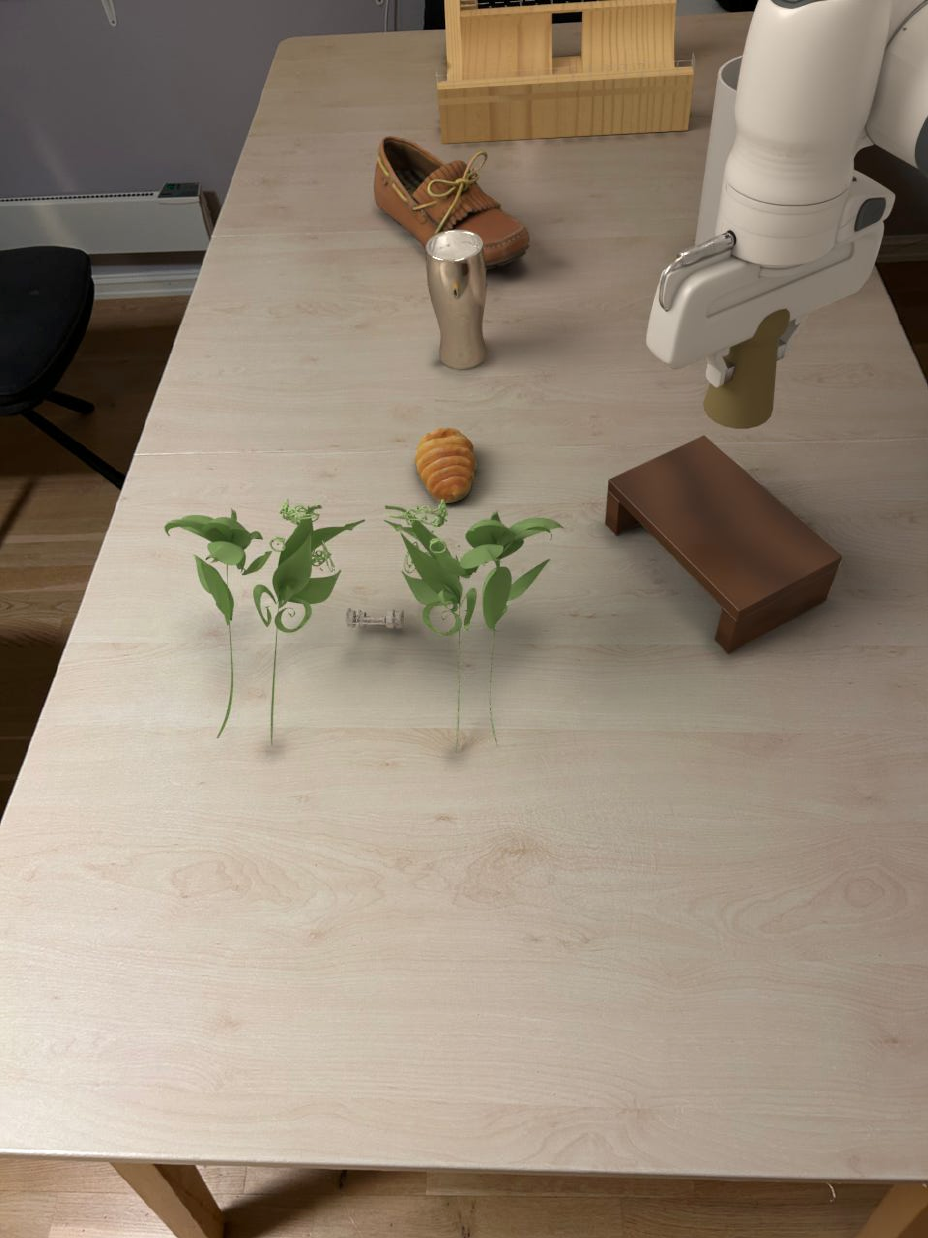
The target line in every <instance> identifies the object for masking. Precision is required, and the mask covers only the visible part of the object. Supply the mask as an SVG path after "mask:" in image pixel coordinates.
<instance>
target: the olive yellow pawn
mask: <svg viewBox="0 0 928 1238" xmlns="http://www.w3.org/2000/svg"><path fill="white" fill-rule="evenodd" d="M789 320H790V312H789V311H788V310H787V309H781V310H778V311H775V312H773V313H771V314H770V315H768V316H767V317H765V318H764V319H763V321H762V322H761V323H760V324H759V326H758V328H757V330H756V332H755V334H754V336H753V337H752V338H751V339H748V340H746V341H744V342H741V343H739V344H737V345H734V346H732V347H730V350H729V354H728V355H726V356H723V357H724V358H726V359H727V361H728V362H731V363H732V364H733V365H734V366H735V370H734V373H733V375H732V376H733V380H732V381H730V382H728V383H726V384H724V385H722V386H720V387H715V386H713V385H712V384H711V383H710V382H709V385H708V388H707V390H706V394H705V397H704V399H703V403H702V404H703V411H704V413H705V414H706V416H707V418H709V419H711V421H713V422H714V423H716V424H717V425H721V426H722V427H725V428H729V429H735V430H744V429H745V430H747V429H752V428H757V427H759V426H761V425H763V424H765V423H767V422H768V420H769V419H770V418H771V417H772V415H773V411H774V403H775V389H776V377H777V363H778V361H777V351H778V339H779V338H780V337H781V336H782V335H783V334H784V332H785V331H786V329H787V327H788V324H789Z"/></svg>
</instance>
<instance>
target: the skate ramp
mask: <svg viewBox="0 0 928 1238" xmlns="http://www.w3.org/2000/svg"><path fill="white" fill-rule="evenodd" d="M530 1H534V0H526V2H530ZM516 2H518V0H517V1H516V0H515V1H513V0H512V1H511V3H516ZM500 3H503V2H502V1H499V2H497V1H496V4H500ZM677 3H678V0H596V1H580V2H565V3H553V0H550V4H534V5H522V0H519V5H520V6H518V5H517V6H504V7H503V6H502V7H487V8H479V2H478V0H444V20H445V22H444V23H445V24H444V25H445V43H446V44H445V46H446V47H445V48H446V80H443V81H441V80H440V81H438V79H439V76H440V77H441V76H443V74H438V69H436V72H435V77H436V78H435V83H436V95H437V105H438V106H437V107H438V115H439V127H440V138H441V139H440V140H441V144H442V145H444V144H446V145H447V144H465V143H480V142H481V143H483V142H499V141H517V140H519V141H520V140H537V139H554V138H572V137H573V138H574V137H591V136H608V135H609V136H610V135H626V134H627V135H628V134H629V135H630V134H646V133H663V132H664V133H665V132H681V131H688V130H689V123H690V116H691V115H690V114H691V107H692V99H693V91H694V84H695V75H696V74H695V69H694V67H696V66H695V65H696V59H695V55H694V53H692V57H691V59H684V60H682V62H689V61H690V62H691V63H692V64H691V66H676V65H679V64H680V63H679V62H680V60H676V62H677V63H676V62H675V29H676V28H675V27H676V25H675V24H676V16H677V15H676V13H677V12H676V11H677ZM485 4H488V2H484V3H483V2H482V3H481V5H485ZM579 12H580V13H581V37H580V39H581V40H580V41H581V43H580V45H581V46H580V55H574V56H559V57H553V14H564V13H565V14H566V13H579ZM675 63H676V64H675Z"/></svg>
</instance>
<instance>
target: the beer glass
mask: <svg viewBox="0 0 928 1238" xmlns="http://www.w3.org/2000/svg"><path fill="white" fill-rule="evenodd" d="M425 251H426V252H425V253H426V279H427V286H428V292H429V297H430V301H431V305H432V309H433V311H434V314H435V317H436V321H437V324H438V328H439V334H440V338H439V340H440V341H439V348H438V349H439V350H438V355H439V356H438V357H439V360H440V362H441V363H442V364H443V365H444V366H445V367H448V368H451V369H454V370H468V369H473V368H476V367H478V366H479V365H481V364H482V363H483V362H484V361H485V360H486V358H487V356H488V348H487V345H486V342H485V338H484V332H483V331H484V330H483V324H484V315H485V307H486V300H487V291H488V290H487V289H488V288H487V286H488V283H487V282H488V280H487V277H488V275H487V269H486V264H485V256H484V250H483V241H482V239H481V238H480V236H478V235H477V234H475V233H473V232H470V231H466V230H449V231H445V232H441V233H439V234H437V235H435V236H433V237H432V238H431V239H430V240H429V241H428V242H427V244H426V249H425Z"/></svg>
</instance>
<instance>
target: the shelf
mask: <svg viewBox="0 0 928 1238" xmlns="http://www.w3.org/2000/svg"><path fill="white" fill-rule="evenodd" d="M606 493H607V494H606V509H605V521H604V525H605V526H606V527H607V528H608V529H609V531H610V532H612V533H613V535H614V536H619V535H620V534H623V533H624V532H627V531H628V530H631V529H633V528H635V527H637V526H639V525H641V526H642V527H643V528H644V529H645V530H646V531H647V532H648V533H649V534H650V536H652V537H653V538H654V539H655V540H656V541H657V542H658V543H659V544H660V545H661V546H662V547H663V548H664V549H665V550H666V551H667V553H668V554H670V555H671V556H672V557H673V558H674V559H675V560H676V561H677V562H678V563H679V564H680V565H681V566H682V568H683V569H685V571H686V572H687V573H688V574H689V575H690V576H691V577H692V578H694V580H695V581H696V582H697V583H698V584H699V585H700V586H701V587H702V588H703V589H704V590H705V591H706V592H707V593H708V594H709V595H710V596H711V597H712V598H713V599H714V600H715V601H716V602H717V603H718V604H719V605H720V606H721V607H722V608H721V610H720V611H721V612H720V615H719V621H718V624H717V628H716V632H715V636H714V641H715V642H716V643H717V644H718V646H719V647H721V648H722V650H723V651H724V652H725V653H726V654H727V655H730V654H731V653H733V652H735V651H737V650H738V649H741V648H742V647H744V646H746V645H748V644H749V643H751V642H753V641H755V640H757V639H759V638H761V637H762V636H764V635H766V634H767V633H768V634H769V632H772V631H773V630H775V629H777V628H779V627H781V626H783V625H785V624H786V623H788V622H791V621H792V620H793V619H795V618H798V617H799V616H801V615H803V614H805V613H807V612H808V611H810V610H812V609H814V608H815V607H817V606H819V605H822V604H823V603H824V602H826V601H827V600H828V597H829V595H830V592H831V590H832V587H833V584H834V581H835V579H836V577H837V573H838V571H839V568H840V565H841V562H842V560H843V557H844V556H843V554H841V553H840V552H839V551H838V550H837V549H836V548H834V547H833V546H832V545H831V544H830V543H829V542H828V541H827V540H825V539H824V538H823V537H822V536H821V535H820V534H818V532H816V531H815V530H814V529H813V528H811V527H810V526H809V525H808V524H807V523H806V522H805V521H803V520H802V519H801V517H799V516H798V515H796V514H795V513H794V512H793V511H792V510H791V509H790V508H789V507H788V506H787V505H785V504H784V503H783V502H781V501H780V500H779V498H777V497H776V496H774V495H773V494H772V493H771V492H770V491H769V490H768V489H767V488H765V486H763V485H762V484H761V483H760V482H759V481H757V480H756V479H755V478H754V477H753V476H752V475H750V473H748V472H747V471H746V470H745V469H744V468H742V466H740V464H738V463H737V462H736V461H734V460H733V458H731V457H730V456H729V455H728V454H727V453H726V452H724V451H723V450H722V449H721V448H720V447H718V446H717V445H716V444H715V443H714V442H713V441H712V440H710V439H709V437H707V436H706V435H701V436H699V437H697V438H695V439H693V440H691V441H688V442H687V443H684V444H683V445H679V446H678V447H675V448H674V449H672V450H669V451H666V452H665V453H663V454H660V455H659V456H656V457H654V458H652V459H650V460H648V461H646V462H643V463H641V464H639V465H637V466H634V467H632V468H630V469H628V470H625V471H624V472H621V473H619V474H618V475H615V476H613V477H611V478H608V480H607V492H606Z"/></svg>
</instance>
